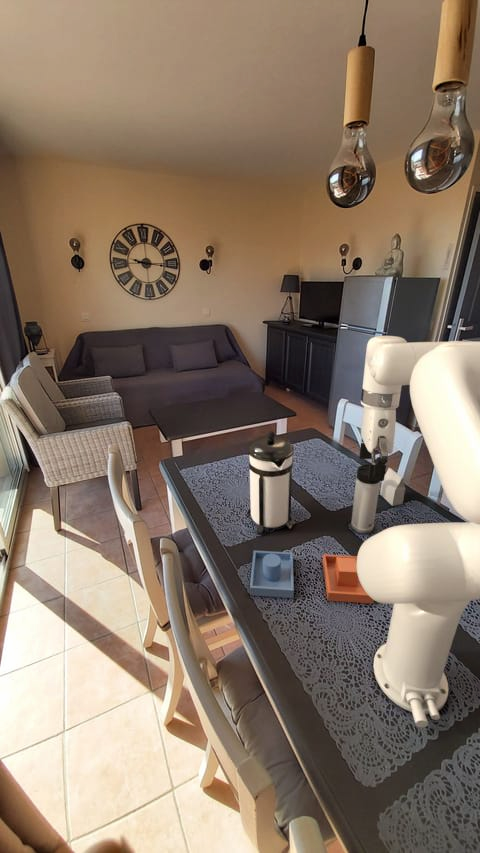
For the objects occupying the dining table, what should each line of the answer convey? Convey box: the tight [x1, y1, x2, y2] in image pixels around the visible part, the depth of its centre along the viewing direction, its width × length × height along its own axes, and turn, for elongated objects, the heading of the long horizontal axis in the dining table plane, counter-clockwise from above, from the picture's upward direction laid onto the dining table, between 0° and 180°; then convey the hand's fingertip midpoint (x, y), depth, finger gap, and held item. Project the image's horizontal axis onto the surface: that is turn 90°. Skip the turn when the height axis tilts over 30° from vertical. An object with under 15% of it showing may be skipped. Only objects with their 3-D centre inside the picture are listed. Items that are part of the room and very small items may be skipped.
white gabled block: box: [379, 467, 406, 507], centre depth 117 cm, size 4×7×10 cm, turn 14°
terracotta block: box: [335, 557, 358, 587], centre depth 87 cm, size 5×5×5 cm
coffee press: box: [247, 430, 295, 536], centre depth 105 cm, size 17×16×30 cm
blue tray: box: [249, 550, 295, 599], centre depth 90 cm, size 12×10×2 cm
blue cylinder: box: [263, 554, 281, 582], centre depth 89 cm, size 4×4×5 cm
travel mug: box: [350, 463, 381, 534], centre depth 102 cm, size 6×7×20 cm
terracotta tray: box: [321, 553, 375, 605], centre depth 88 cm, size 12×10×2 cm
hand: (370, 468), depth 82 cm, fingers open, 9 cm apart
